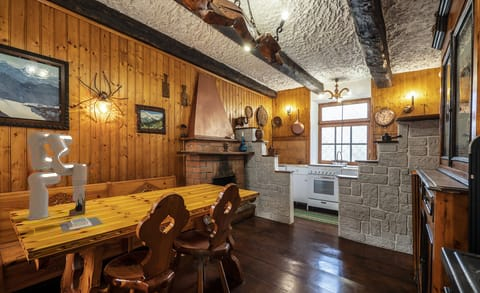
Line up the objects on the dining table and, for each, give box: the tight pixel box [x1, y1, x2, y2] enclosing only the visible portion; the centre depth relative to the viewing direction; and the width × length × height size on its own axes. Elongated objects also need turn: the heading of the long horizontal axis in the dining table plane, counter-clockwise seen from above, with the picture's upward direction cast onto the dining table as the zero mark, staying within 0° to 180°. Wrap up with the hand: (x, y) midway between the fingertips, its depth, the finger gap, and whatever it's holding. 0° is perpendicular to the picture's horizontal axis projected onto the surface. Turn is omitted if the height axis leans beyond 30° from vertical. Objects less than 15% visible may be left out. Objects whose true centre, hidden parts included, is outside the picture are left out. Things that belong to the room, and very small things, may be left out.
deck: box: [69, 217, 89, 227], centre depth 134 cm, size 2×8×10 cm
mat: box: [59, 216, 104, 233], centre depth 134 cm, size 20×20×1 cm
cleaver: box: [68, 189, 87, 218], centre depth 152 cm, size 9×4×18 cm, turn 132°
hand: (78, 211), depth 137 cm, fingers closed
